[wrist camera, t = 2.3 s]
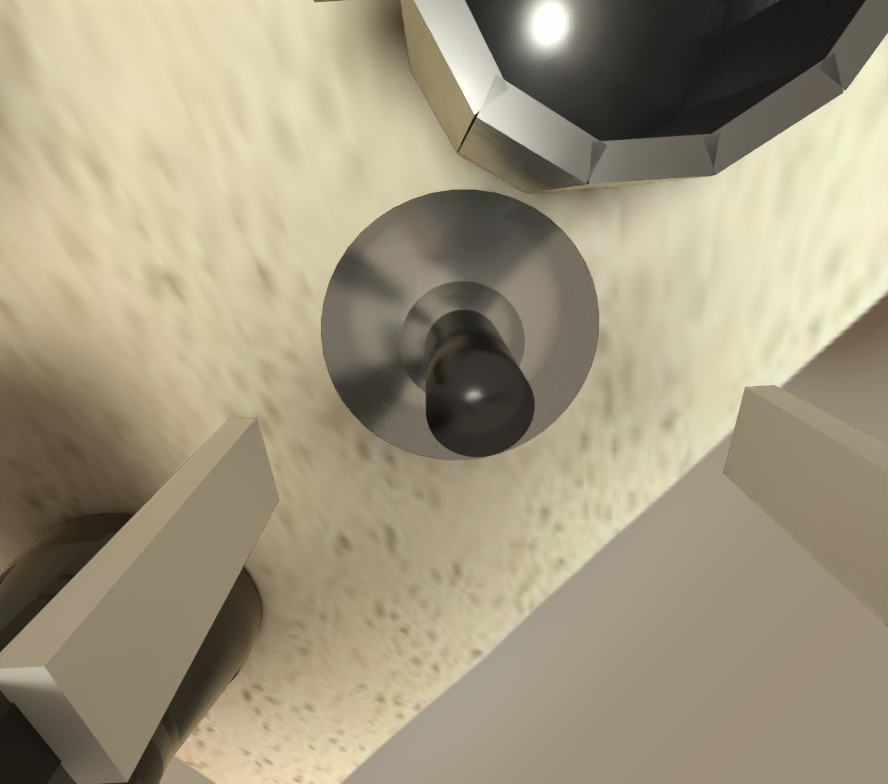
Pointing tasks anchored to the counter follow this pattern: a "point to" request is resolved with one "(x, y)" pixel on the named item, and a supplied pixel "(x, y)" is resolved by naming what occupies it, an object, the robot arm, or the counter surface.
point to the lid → (460, 324)
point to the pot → (629, 81)
